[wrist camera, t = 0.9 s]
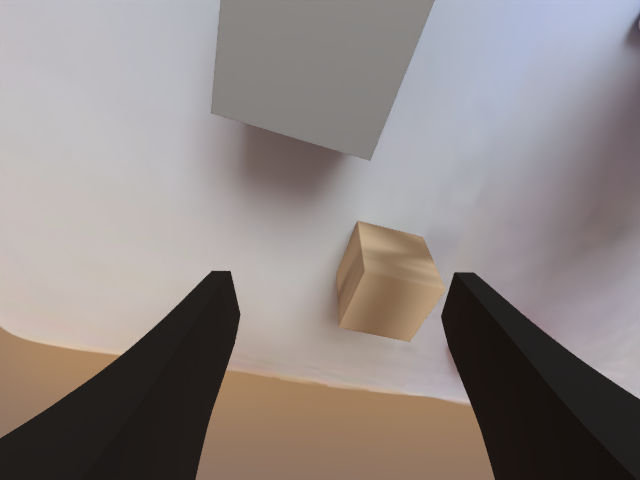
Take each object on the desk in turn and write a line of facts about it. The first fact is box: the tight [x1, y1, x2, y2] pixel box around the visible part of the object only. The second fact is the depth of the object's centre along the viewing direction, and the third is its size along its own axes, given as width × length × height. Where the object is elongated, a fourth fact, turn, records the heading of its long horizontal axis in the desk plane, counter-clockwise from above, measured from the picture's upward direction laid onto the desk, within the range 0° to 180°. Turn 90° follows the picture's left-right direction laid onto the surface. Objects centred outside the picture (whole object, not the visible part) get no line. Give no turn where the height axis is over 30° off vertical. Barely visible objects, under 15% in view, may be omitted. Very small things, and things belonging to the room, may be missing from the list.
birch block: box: [337, 221, 446, 342], centre depth 19 cm, size 4×4×5 cm
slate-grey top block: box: [211, 0, 435, 161], centre depth 11 cm, size 6×6×3 cm
